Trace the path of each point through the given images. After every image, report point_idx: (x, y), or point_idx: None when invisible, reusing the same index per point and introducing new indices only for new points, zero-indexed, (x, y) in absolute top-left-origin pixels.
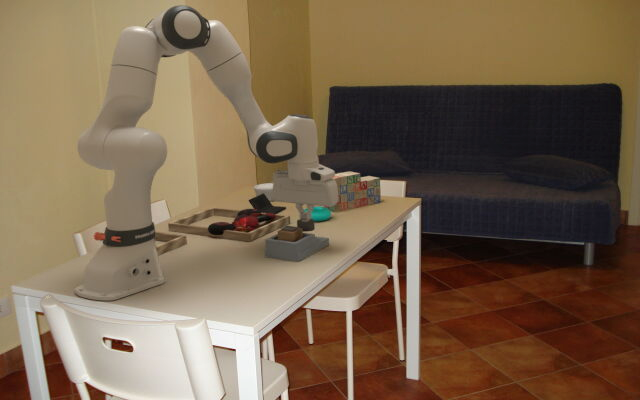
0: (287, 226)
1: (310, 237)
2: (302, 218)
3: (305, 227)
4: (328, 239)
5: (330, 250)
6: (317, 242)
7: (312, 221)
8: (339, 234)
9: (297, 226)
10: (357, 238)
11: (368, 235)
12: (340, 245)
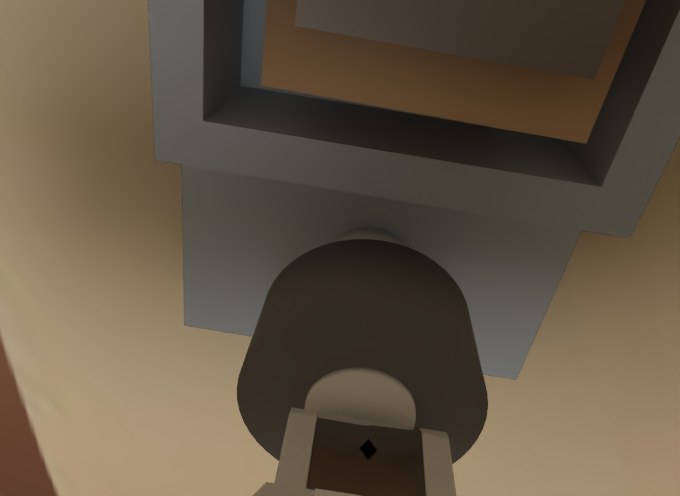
0: (565, 8)
1: (157, 35)
2: (401, 426)
3: (321, 272)
4: (187, 312)
5: (109, 154)
6: (211, 185)
7: (248, 392)
8: (250, 482)
9: (459, 308)
10: (97, 433)
11: (72, 484)
12: (112, 289)
